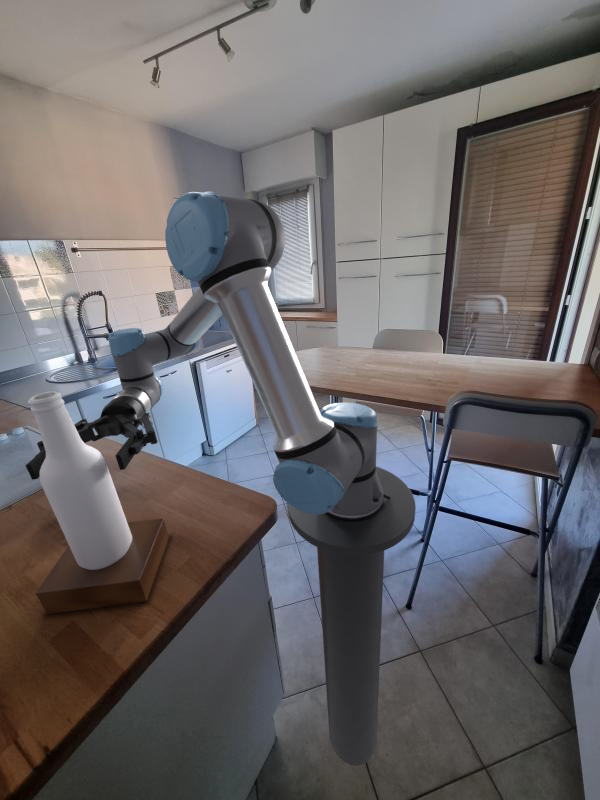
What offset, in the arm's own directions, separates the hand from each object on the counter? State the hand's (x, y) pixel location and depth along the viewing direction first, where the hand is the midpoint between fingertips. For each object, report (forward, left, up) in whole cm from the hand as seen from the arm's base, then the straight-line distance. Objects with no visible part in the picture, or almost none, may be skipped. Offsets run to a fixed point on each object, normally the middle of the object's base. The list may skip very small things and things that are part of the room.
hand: (75, 467), depth 53 cm
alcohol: (0, 0, -18) cm, 18 cm away
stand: (0, 0, -23) cm, 23 cm away
